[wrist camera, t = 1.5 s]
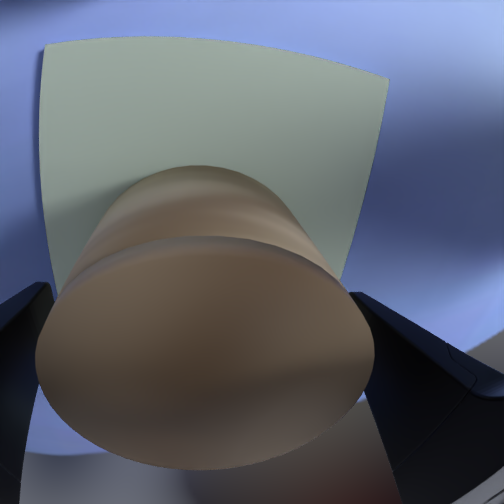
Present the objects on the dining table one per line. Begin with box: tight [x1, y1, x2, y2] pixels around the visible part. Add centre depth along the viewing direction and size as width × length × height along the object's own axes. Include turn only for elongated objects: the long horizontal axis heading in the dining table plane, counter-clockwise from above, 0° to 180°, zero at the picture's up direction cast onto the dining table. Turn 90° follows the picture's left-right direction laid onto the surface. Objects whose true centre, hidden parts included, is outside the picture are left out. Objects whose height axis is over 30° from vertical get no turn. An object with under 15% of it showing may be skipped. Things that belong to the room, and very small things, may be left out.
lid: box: [35, 165, 375, 470], centre depth 8 cm, size 7×7×5 cm
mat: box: [39, 37, 390, 295], centre depth 10 cm, size 10×12×1 cm
